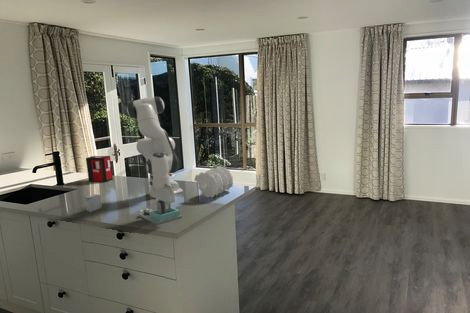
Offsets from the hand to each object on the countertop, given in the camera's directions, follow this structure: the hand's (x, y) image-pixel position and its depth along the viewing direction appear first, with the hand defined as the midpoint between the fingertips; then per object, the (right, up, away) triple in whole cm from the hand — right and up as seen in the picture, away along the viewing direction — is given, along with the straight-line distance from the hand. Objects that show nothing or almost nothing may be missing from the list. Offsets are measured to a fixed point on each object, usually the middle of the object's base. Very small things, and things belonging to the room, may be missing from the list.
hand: (164, 207), depth 196 cm
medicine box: (-47, -5, +24) cm, 53 cm away
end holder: (0, -6, +1) cm, 6 cm away
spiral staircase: (+26, +3, +43) cm, 50 cm away
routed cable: (-8, -4, +6) cm, 11 cm away
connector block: (0, -2, 0) cm, 2 cm away
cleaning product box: (-73, +8, +103) cm, 127 cm away
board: (-3, -6, +3) cm, 7 cm away
